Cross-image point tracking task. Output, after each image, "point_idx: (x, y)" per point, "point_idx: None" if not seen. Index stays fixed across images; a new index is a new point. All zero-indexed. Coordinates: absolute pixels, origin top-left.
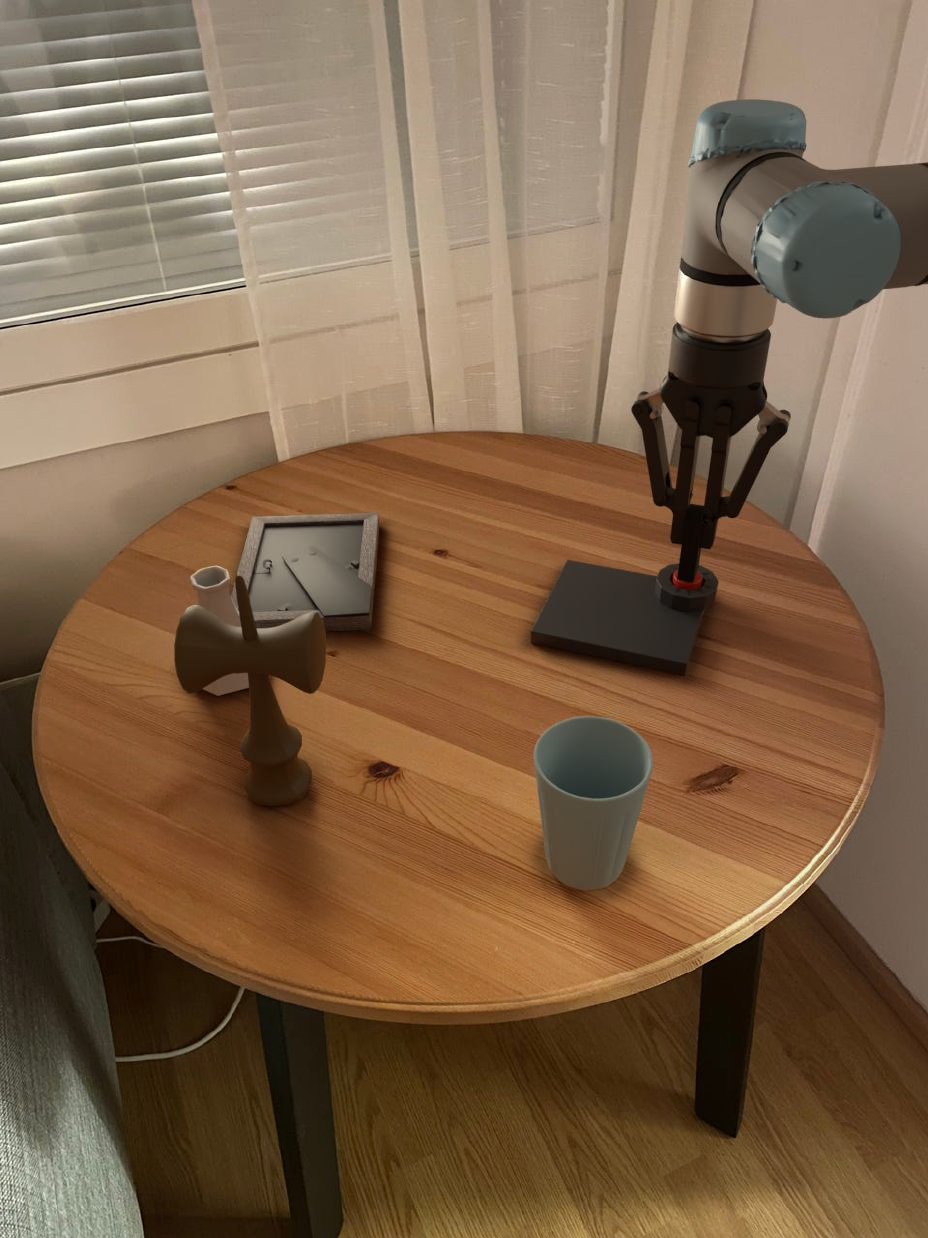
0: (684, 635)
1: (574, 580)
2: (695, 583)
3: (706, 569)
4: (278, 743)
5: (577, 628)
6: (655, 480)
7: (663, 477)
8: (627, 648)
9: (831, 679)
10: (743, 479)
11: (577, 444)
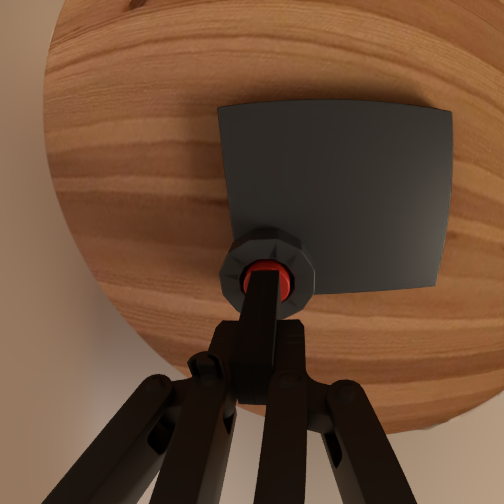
0: (240, 170)
1: (425, 246)
2: (249, 273)
3: None
4: None
5: (400, 131)
6: (372, 444)
7: (349, 459)
8: (315, 104)
9: (82, 191)
10: (107, 460)
11: (406, 429)
